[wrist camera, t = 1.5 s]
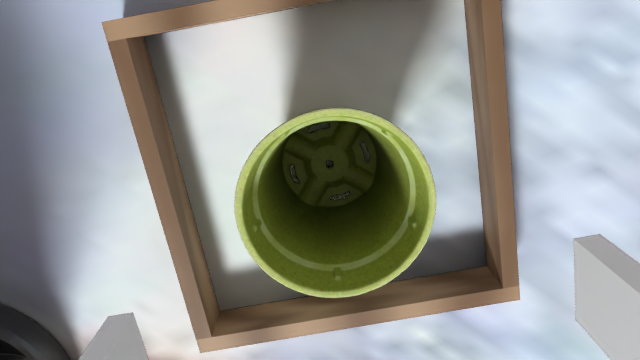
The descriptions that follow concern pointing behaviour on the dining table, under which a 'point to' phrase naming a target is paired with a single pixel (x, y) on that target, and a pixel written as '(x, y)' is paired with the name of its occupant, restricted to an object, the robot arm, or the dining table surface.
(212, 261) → the dining table surface
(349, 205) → the plant pot
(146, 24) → the frame
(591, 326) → the robot arm
